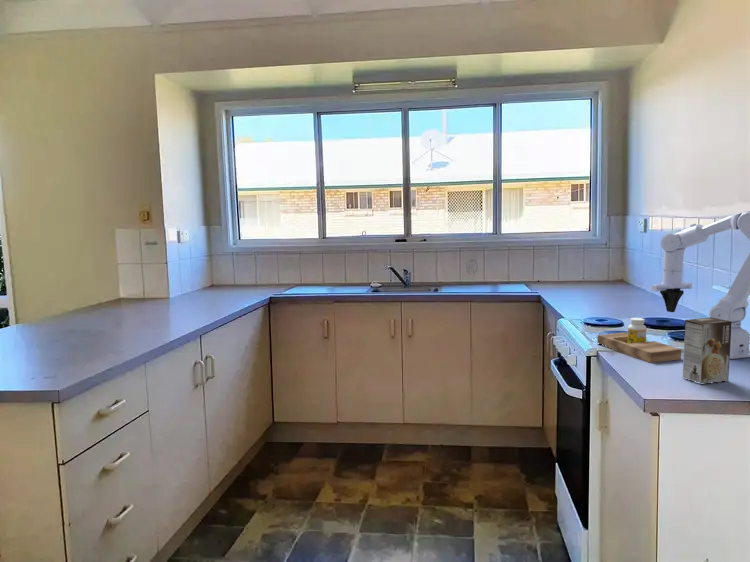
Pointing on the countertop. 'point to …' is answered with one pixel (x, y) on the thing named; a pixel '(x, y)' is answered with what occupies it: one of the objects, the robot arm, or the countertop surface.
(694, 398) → the countertop surface
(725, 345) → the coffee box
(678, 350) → the board
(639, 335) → the supplement bottle
